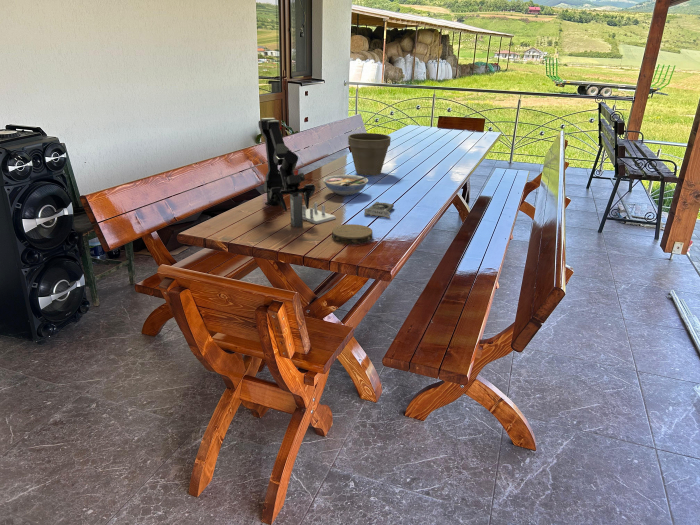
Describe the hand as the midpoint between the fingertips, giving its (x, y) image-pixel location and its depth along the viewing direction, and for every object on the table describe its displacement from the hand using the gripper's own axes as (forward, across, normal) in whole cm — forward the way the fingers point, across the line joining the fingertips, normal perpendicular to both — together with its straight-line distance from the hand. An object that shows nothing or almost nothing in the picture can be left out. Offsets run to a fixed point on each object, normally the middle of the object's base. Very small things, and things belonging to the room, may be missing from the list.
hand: (297, 209), depth 215 cm
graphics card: (+2, +42, +9) cm, 43 cm away
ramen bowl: (-24, +39, +34) cm, 57 cm away
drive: (+4, 0, +6) cm, 7 cm away
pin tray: (-1, +10, +11) cm, 15 cm away
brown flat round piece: (+20, +16, -9) cm, 27 cm away
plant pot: (-52, +70, +62) cm, 107 cm away
